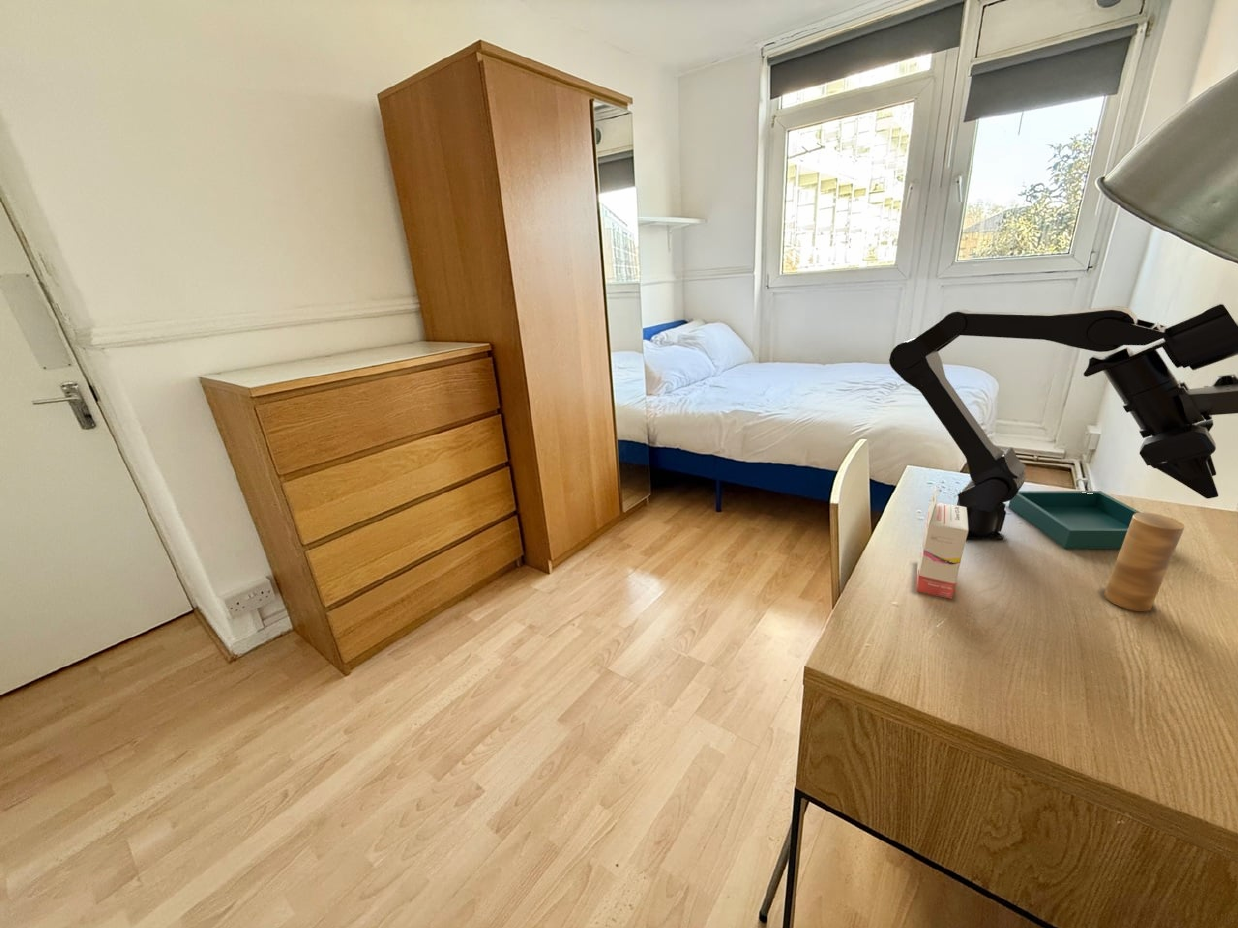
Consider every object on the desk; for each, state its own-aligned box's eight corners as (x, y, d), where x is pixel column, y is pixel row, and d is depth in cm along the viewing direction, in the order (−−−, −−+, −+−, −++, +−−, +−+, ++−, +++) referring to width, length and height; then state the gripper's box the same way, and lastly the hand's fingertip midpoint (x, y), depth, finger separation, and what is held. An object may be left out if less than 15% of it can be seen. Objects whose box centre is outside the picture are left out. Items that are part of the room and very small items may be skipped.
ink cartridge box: (954, 600, 73) (974, 511, 67) (915, 591, 75) (932, 505, 70) (952, 571, 79) (971, 488, 74) (917, 563, 82) (932, 482, 76)
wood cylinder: (1122, 611, 68) (1153, 529, 64) (1095, 590, 73) (1123, 512, 68) (1161, 612, 68) (1196, 529, 63) (1131, 590, 72) (1162, 512, 68)
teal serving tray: (1064, 548, 83) (1070, 530, 82) (1008, 507, 98) (1012, 491, 96) (1168, 549, 81) (1176, 531, 80) (1095, 507, 96) (1100, 490, 94)
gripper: (1235, 369, 57) (1318, 489, 55) (1228, 346, 68) (1296, 445, 67) (1111, 412, 66) (1179, 516, 64) (1123, 385, 77) (1181, 473, 75)
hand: (1212, 486), depth 67 cm, fingers open, 9 cm apart
